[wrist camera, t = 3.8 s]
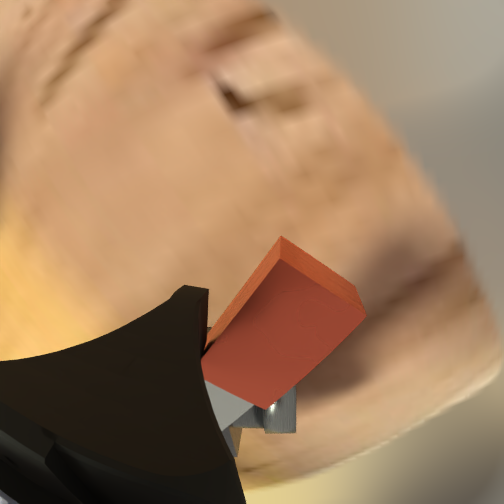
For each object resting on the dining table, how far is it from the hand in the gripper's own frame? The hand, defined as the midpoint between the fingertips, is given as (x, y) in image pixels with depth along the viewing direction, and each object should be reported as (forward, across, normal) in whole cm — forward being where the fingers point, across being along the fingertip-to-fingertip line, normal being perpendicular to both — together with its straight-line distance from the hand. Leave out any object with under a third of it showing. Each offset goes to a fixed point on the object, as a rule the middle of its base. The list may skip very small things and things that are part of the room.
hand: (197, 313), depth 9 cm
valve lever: (+1, -1, +4) cm, 4 cm away
